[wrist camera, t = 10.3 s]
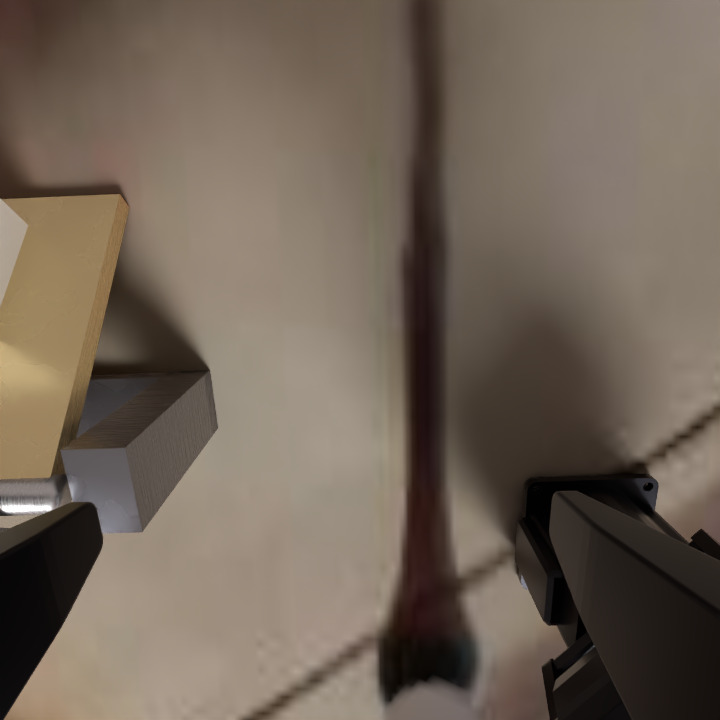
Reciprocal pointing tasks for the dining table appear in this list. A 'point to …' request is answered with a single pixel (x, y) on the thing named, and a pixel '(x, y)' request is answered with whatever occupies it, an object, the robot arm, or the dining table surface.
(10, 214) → the cube
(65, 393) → the trapdoor
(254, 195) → the dining table surface
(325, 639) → the dining table surface
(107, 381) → the frame
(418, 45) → the dining table surface
